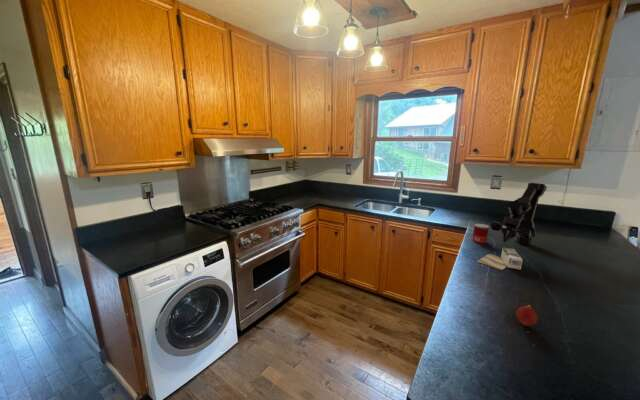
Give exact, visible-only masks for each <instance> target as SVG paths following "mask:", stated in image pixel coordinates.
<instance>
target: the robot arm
mask: <svg viewBox="0 0 640 400" xmlns="http://www.w3.org/2000/svg"><path fill="white" fill-rule="evenodd" d="M547 187H548V186H547V185H545V183H540V182H529V183H527V187H526V189H525V190H524V192H523V194H522V195H521V196H520V197H518V198H517V199H515V200H514V201H510V202H508V205H507V206H508V211H509V213H510V214H509V216H504V219H503V225H501V223H500V222H498V221H493V220H492V221H491V222H490V226H489V227H490V228H491V230H492V231H496V232H499V231H501V234H502V235H503V236H502V237H503V239H502V242H503V243H507V242H508V241H510V240H512V239H513V238H516V240H515V242H516V243H517V244H520V245H521V246H533V244H532V243H531V242H532V239H533V238H535V237H536V228H535V222H534V217H535V214H536V210H537V206H538V203H539V201H540V200H539V199H540V198H541V197H542V196H543V195H545V193H546V191H547Z"/></svg>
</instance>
